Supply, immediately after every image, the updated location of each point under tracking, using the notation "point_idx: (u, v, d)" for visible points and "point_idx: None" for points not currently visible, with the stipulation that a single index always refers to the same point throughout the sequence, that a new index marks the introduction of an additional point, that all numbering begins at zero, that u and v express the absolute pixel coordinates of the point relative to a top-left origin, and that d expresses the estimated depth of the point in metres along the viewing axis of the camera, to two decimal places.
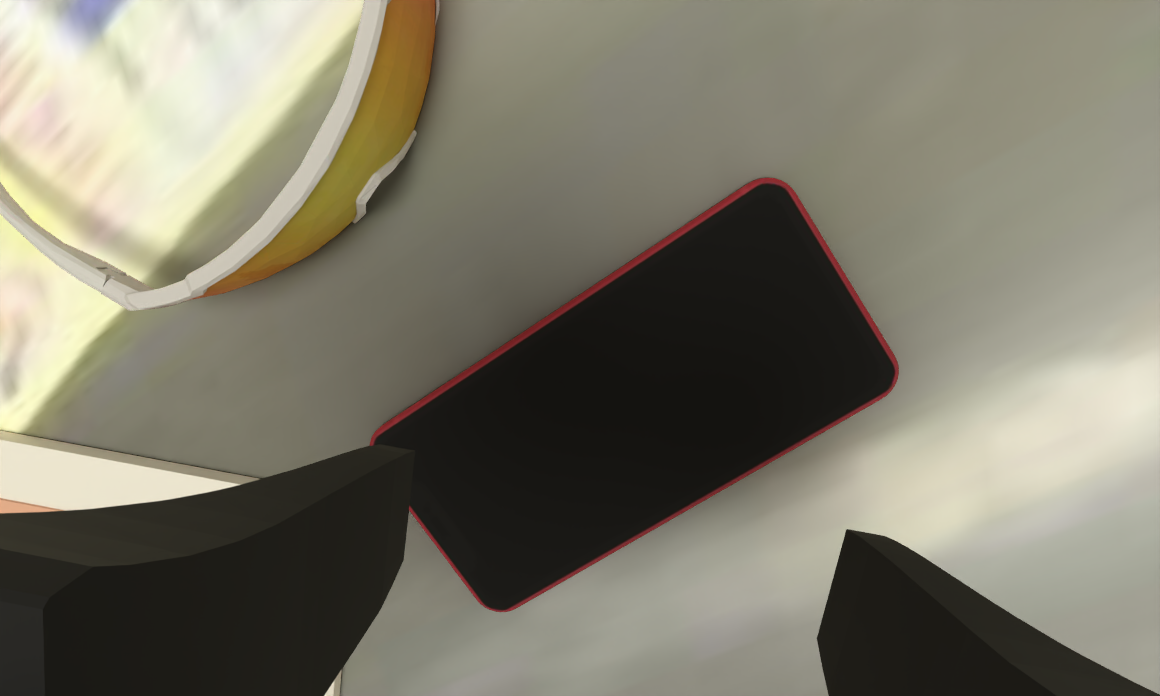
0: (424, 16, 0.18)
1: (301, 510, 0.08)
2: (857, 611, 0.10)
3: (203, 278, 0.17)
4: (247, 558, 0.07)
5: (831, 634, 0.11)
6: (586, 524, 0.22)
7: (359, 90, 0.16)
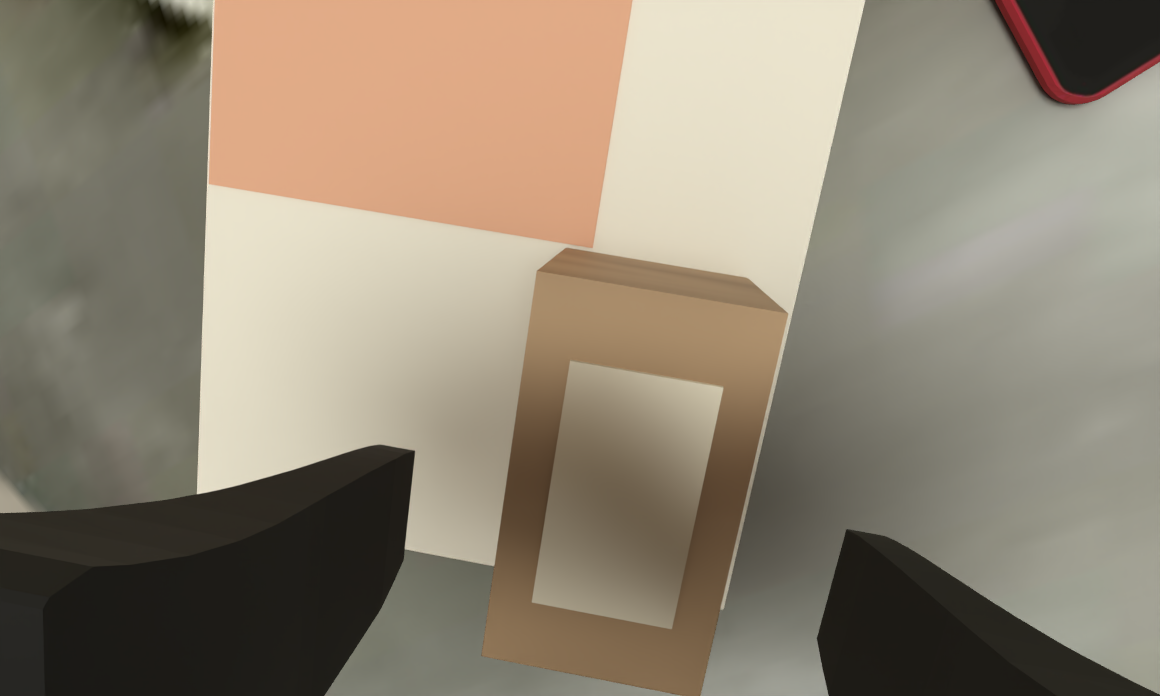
0: None
1: (301, 510, 0.08)
2: (857, 611, 0.10)
3: None
4: (247, 558, 0.07)
5: (831, 634, 0.11)
6: None
7: None
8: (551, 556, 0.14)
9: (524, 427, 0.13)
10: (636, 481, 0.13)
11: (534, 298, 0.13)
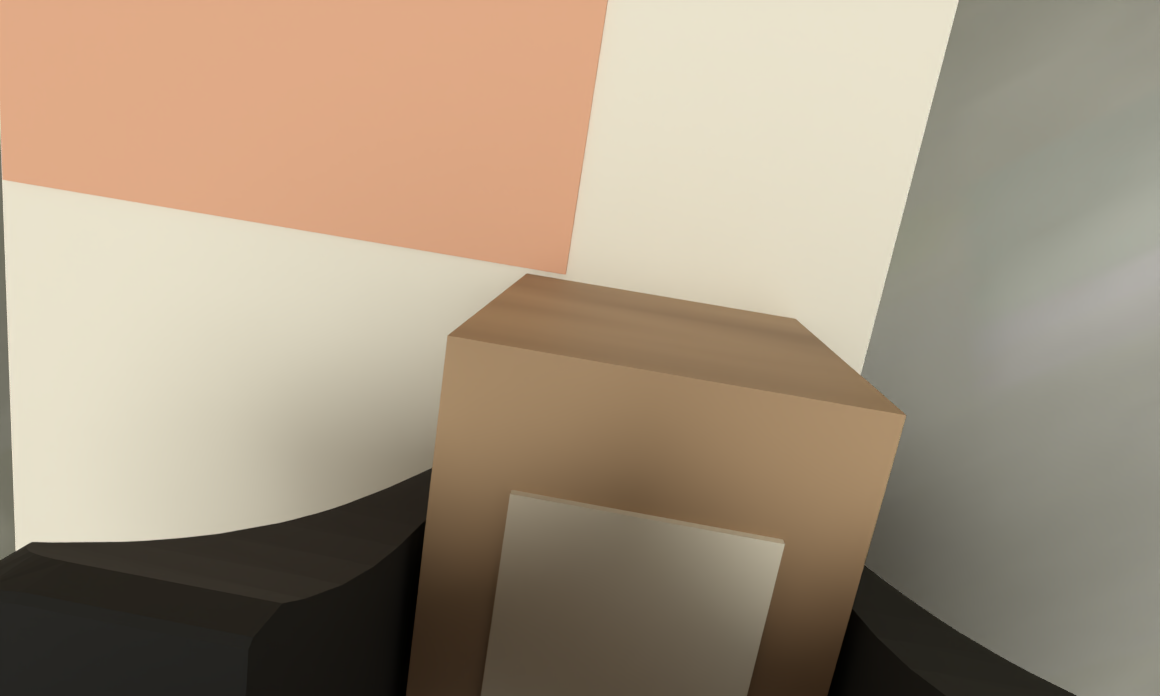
0: None
1: (413, 531, 0.08)
2: None
3: None
4: (377, 583, 0.07)
5: None
6: None
7: None
8: None
9: (434, 600, 0.08)
10: (629, 695, 0.08)
11: (444, 384, 0.07)
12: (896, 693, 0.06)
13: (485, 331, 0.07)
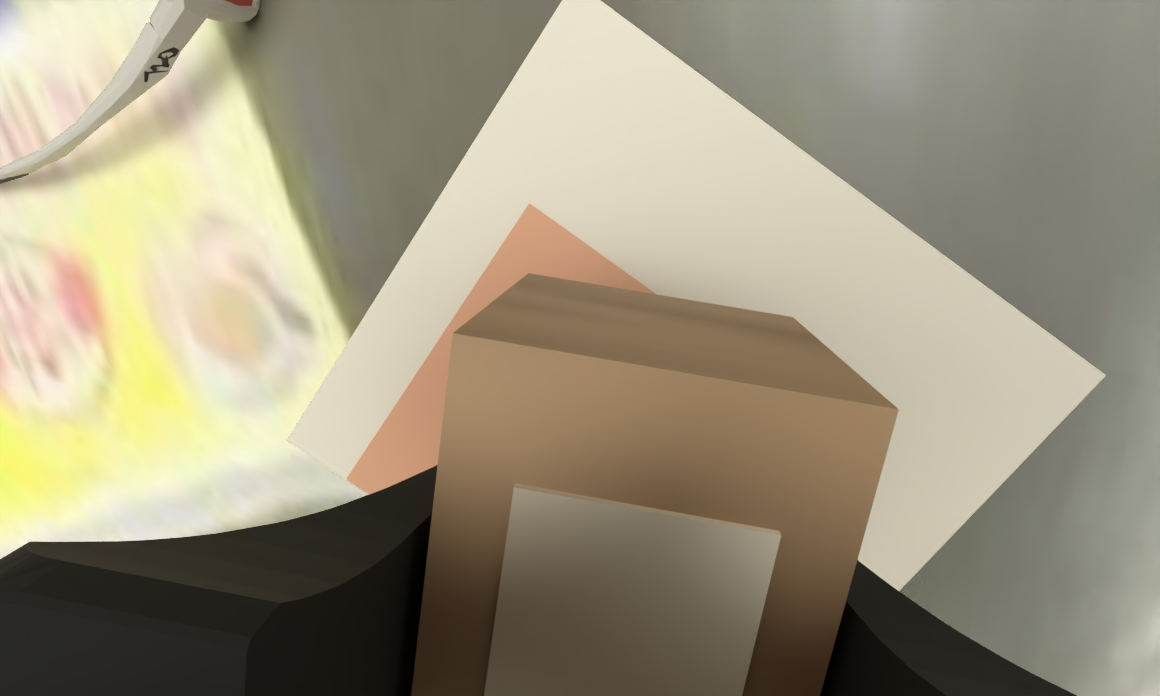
0: None
1: (412, 531, 0.08)
2: None
3: None
4: (376, 582, 0.07)
5: None
6: None
7: None
8: None
9: (439, 592, 0.08)
10: (630, 684, 0.08)
11: (449, 380, 0.07)
12: (897, 693, 0.06)
13: (489, 329, 0.08)
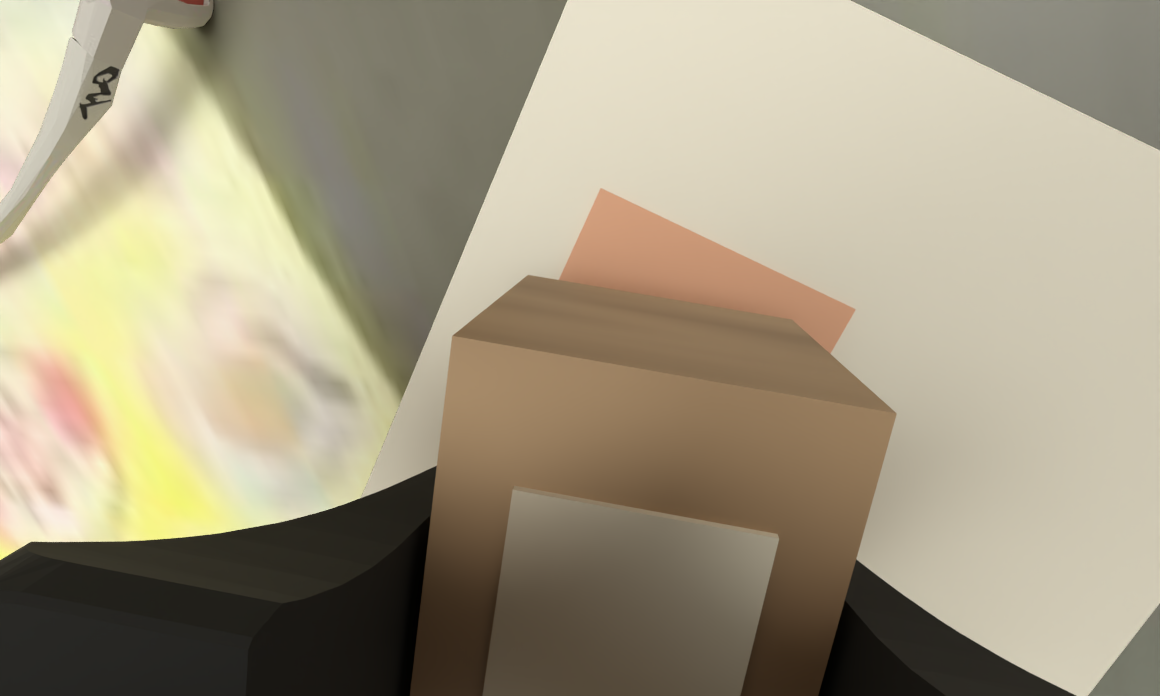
0: None
1: (413, 531, 0.08)
2: None
3: None
4: (377, 583, 0.07)
5: None
6: None
7: None
8: None
9: (438, 595, 0.08)
10: (627, 686, 0.08)
11: (449, 383, 0.07)
12: (896, 693, 0.06)
13: (488, 332, 0.08)
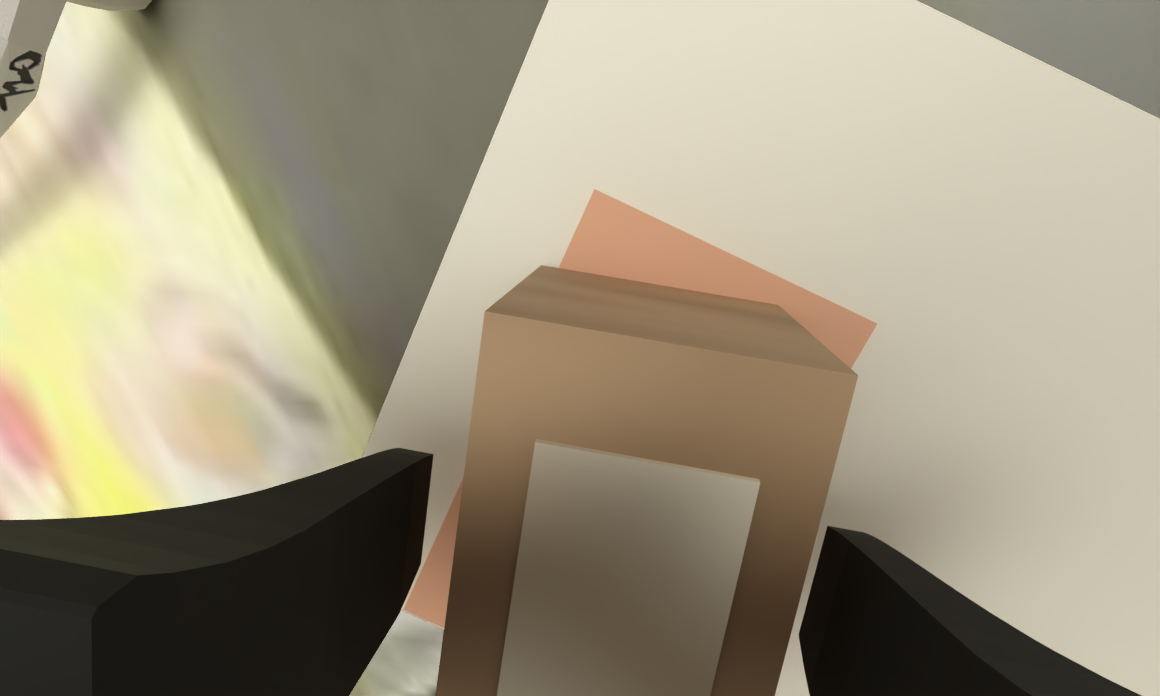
0: None
1: (328, 515, 0.08)
2: (836, 607, 0.10)
3: None
4: (278, 564, 0.07)
5: (812, 630, 0.11)
6: None
7: None
8: None
9: (471, 533, 0.09)
10: (633, 611, 0.09)
11: (481, 351, 0.09)
12: None
13: (514, 308, 0.09)
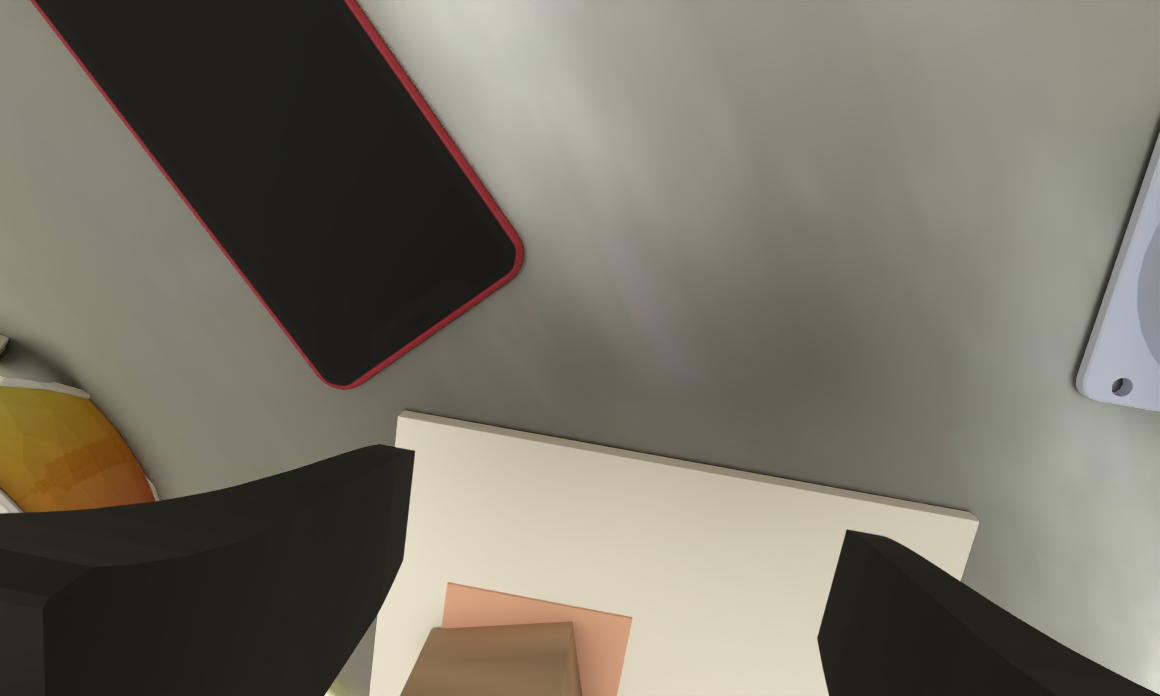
0: None
1: (301, 510, 0.08)
2: (857, 611, 0.10)
3: None
4: (247, 558, 0.07)
5: (831, 634, 0.11)
6: (398, 149, 0.19)
7: None
8: None
9: None
10: None
11: None
12: None
13: None
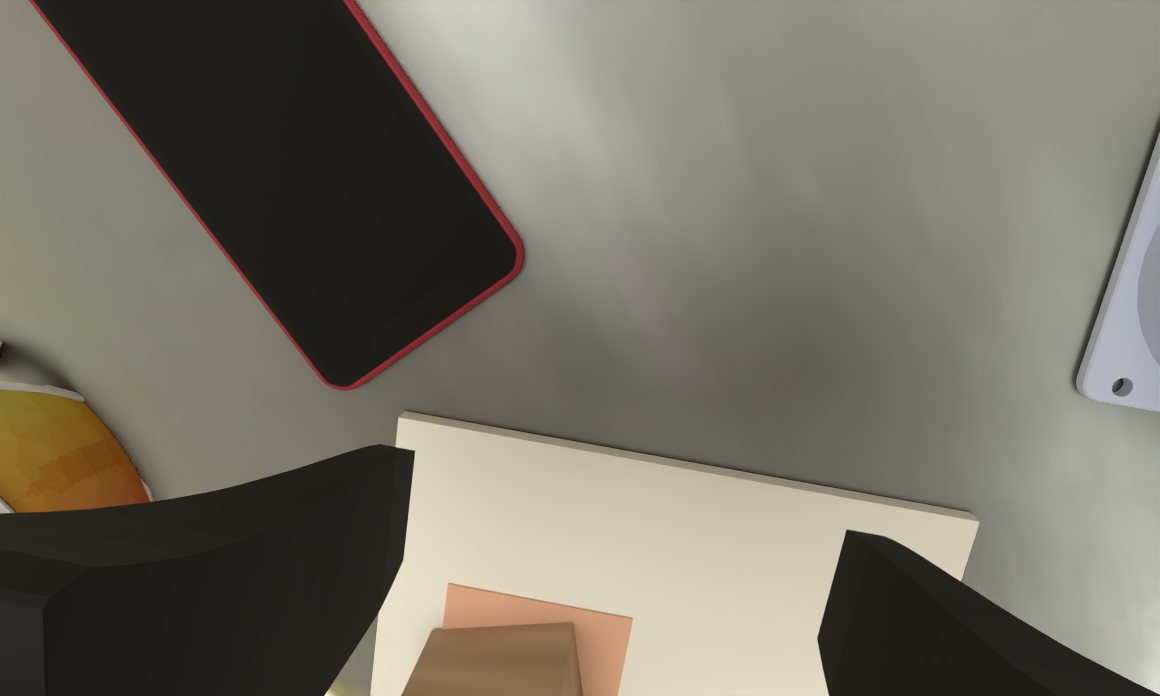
0: None
1: (301, 510, 0.08)
2: (857, 611, 0.10)
3: None
4: (247, 558, 0.07)
5: (831, 634, 0.11)
6: (398, 151, 0.19)
7: None
8: None
9: None
10: None
11: None
12: None
13: None
